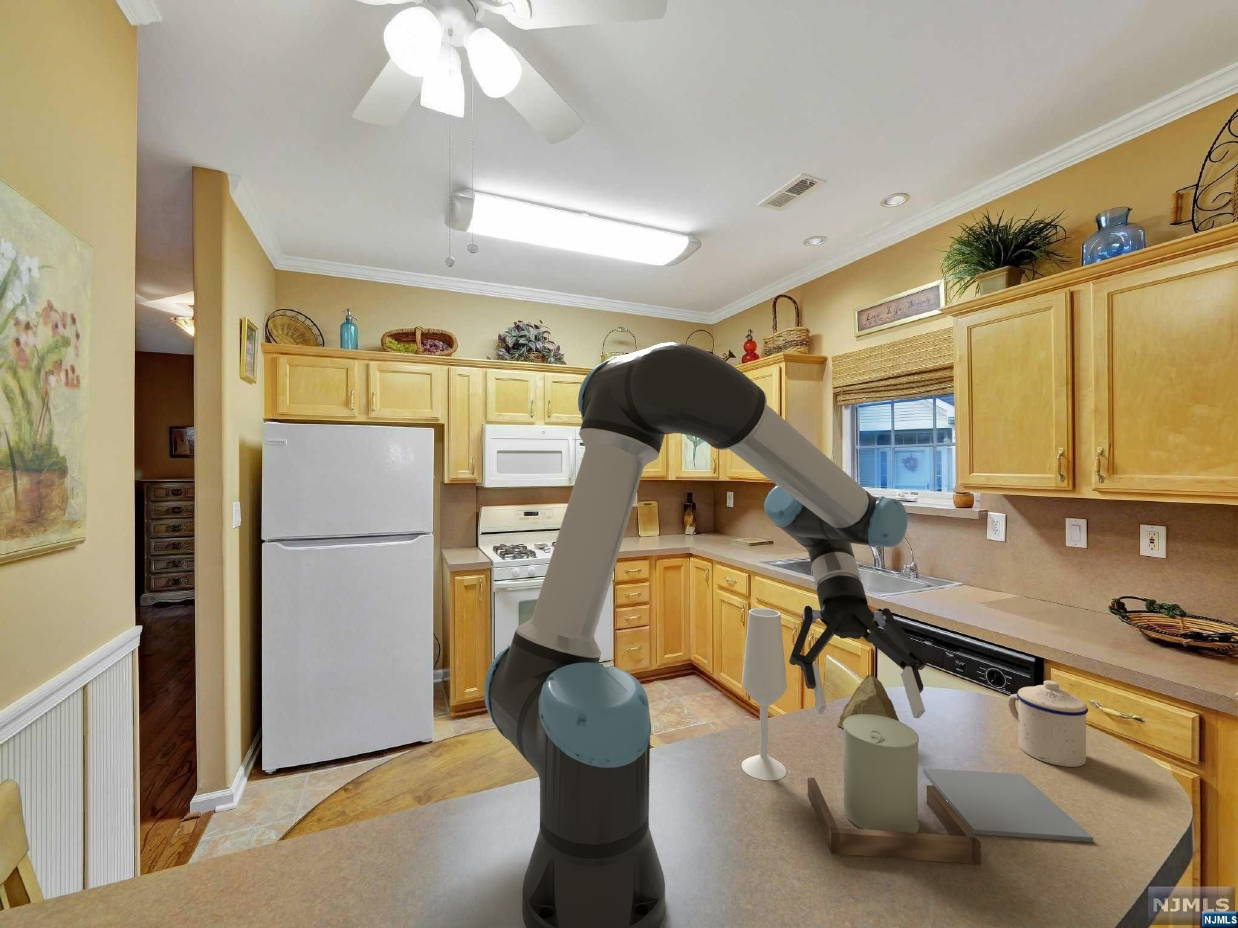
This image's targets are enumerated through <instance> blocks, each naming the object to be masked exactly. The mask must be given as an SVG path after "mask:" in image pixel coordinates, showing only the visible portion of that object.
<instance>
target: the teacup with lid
mask: <svg viewBox="0 0 1238 928" xmlns="http://www.w3.org/2000/svg"><path fill="white" fill-rule="evenodd" d="M1016 700H1018V710H1017V706H1016ZM1007 708H1008V710H1009V711H1008V712H1009V713H1010V715H1011V717H1012V718H1013V720H1014V721H1015V722H1016V723H1017V724H1018V726H1017V727H1018V730H1017V731H1018V733H1017V734H1018V736H1017V737H1018V738H1017V740H1018V742H1017V744H1018V746H1019V748H1020V749H1021V750H1022V751H1023V752H1024V753H1026V754H1027V755H1028V756H1030V757H1031V758H1034V759H1036V760H1039V761H1042V762H1044V763H1047V764H1050V765H1054V766H1055V765H1056V766H1059V767H1066V768H1079V767H1081V766H1083V765H1085V764H1086V760H1087V714H1088V712H1089V708H1088V706H1087V704H1086V703H1085V701H1083V700H1082V699H1081V698H1079V697H1077V696H1076V695H1073V694H1071V693H1069V692H1067V691H1066V690H1064V689H1062V688H1060V684H1059V682H1057V681H1054V680H1050V679H1048V680H1044V681H1043V684H1038V685H1035V686H1023V687H1021V688H1019V689H1018V691H1017V693H1014V694H1011V695H1009V696H1008V699H1007Z"/></svg>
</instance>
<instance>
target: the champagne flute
mask: <svg viewBox="0 0 1238 928" xmlns="http://www.w3.org/2000/svg"><path fill="white" fill-rule="evenodd" d="M747 616H748V617H747V624H746V625H747V626H746V636H745V645H744V657H743V665H742V666H743V667H742V676H741V685H742V687H743V688H744V690H745V692H746V693H747V695H748V696H749V698H751V699H752V700H753V701H754V702H755V703H756V704H757V705H758V706H759V754H756V755H753V756H750V757H748V758H746V759H744V760H743V761H742V763H741V768H742V770H743V771H744V772H745V774H747V775H749V776H750V777H752V778H754V779H757V780H762V781H768V782H769V781H771V782H772V781H778V780H781V779H783V778H784V777H785V776H786V775H787V768H786V767H785V766H784V765H783V763H781V762H780V761H778V760H776V759H775V758H773V757H772V756H770V755H768V754H769V752H768V751H769V748H768V747H769V734H768V733H769V732H768V731H769V706H772V705H773V704H775V703H776V702H778V700H780V699H781V698H782V697H783V695H784V694H785V693H786V691H787V688H788V684H787V683H788V682H787V672H786V661H785V659H786V658H785V650H784V638H783V637H784V636H783V628H782V627H783V626H782V615H781V612H780V611H778V610H776V609H772V608H762V607H761V608H759V607H758V608H752V609H750V610H748V615H747Z"/></svg>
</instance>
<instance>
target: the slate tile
mask: <svg viewBox="0 0 1238 928" xmlns="http://www.w3.org/2000/svg"><path fill="white" fill-rule="evenodd" d="M922 772H923V774H924V775H925V776H926V778H927V779H928V780H929V781H930V782H931V784H932V785H934V786H935V787H936V788H937V790H938V791H939V792H940V793H941V794H942V796H943V797H944V798H945V799H946V800H947V801H948V803H949V804H950V805H951V807H952V808H953V809H954V810H955V812H956V813H957V814H958V815H959V817H960V818H961V819H962V820H963V821H964V823H965V824H966V825H967V826H968V828H969V829H970V830H971V831H972V832H973V834H974V835H982V836H984V835H985V836H998V837H1010V838H1011V837H1012V838H1013V837H1014V838H1025V839H1026V838H1027V839H1041V840H1053V841H1054V840H1057V841H1067V842H1068V841H1069V842H1070V841H1072V842H1081V843H1082V842H1083V843H1085V842H1086V843H1093V842H1094V836H1093V835H1091V834H1090V833H1089V832H1087V831H1086V830H1085V829H1084V828H1083V827H1082V826H1081V825H1080V824H1079V823H1078V822H1076V821H1075V820H1074V819H1073V818H1072V817H1070V816H1069V814H1068V813H1066V811H1064V810H1062V808H1060V806H1058V805H1057V804H1056V803H1055V802H1054V801H1052V800H1051V799H1050V798H1049V797H1048V796H1047V795H1046V794H1045V793H1044V792H1042V791H1041V789H1040V788H1038V787H1037V786H1036V785H1035V784H1033V783H1032V782H1031V781H1030V780H1029V779H1028V778H1027V777H1025V776H1024V774H1022V773H1015V772H1013V773H1012V772H1009V773H1008V772H996V771H995V772H994V771H979V770H978V771H976V770H962V769H961V770H959V769H942V768H928V767H927V768H924V767H923V768H922Z"/></svg>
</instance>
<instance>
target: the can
mask: <svg viewBox="0 0 1238 928" xmlns="http://www.w3.org/2000/svg"><path fill="white" fill-rule="evenodd" d="M843 727H844V729H843V799H842V800H843V801H842V805H841V806H842V807H841V808H842V811H843V813H844V815H845V817H846V818H847V819H848V820H849V822H851V823H852V824H854V825H853V826H856V827H858V829H867V830H881V831H895V832H910V833H918V831H919V829H920V821H919V811H918V810H919V809H918V808H919V807H918V805H919V804H918V803H919V802H918V797H919V796H918V794H919V793H918V786H919V785H918V784H919V783H918V782H919V781H918V780H919V779H918V775H919V774H918V771H919V743H920V737H919V734H918V733H917V732H916V731H915V730H914V729H913V728H912V727H911V726H909V725H907V724H906V723H904V722H902V721H900V720H899V721H897V720H894V719H891V718H888V717H884V716H879V715H871V714H858V715H853V716H850V717H848V718H846V719H845V720H844V722H843Z"/></svg>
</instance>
